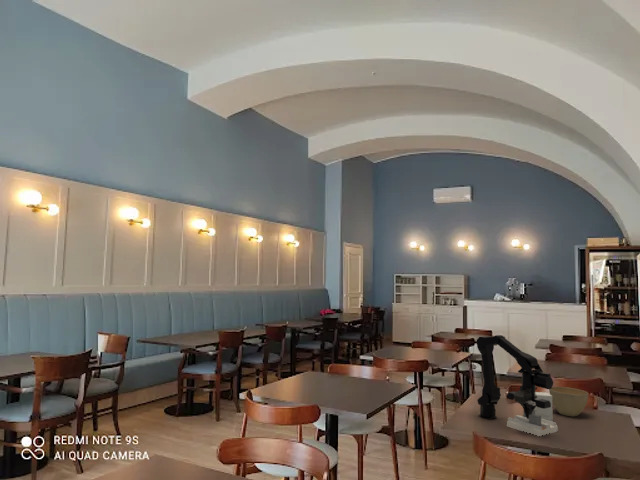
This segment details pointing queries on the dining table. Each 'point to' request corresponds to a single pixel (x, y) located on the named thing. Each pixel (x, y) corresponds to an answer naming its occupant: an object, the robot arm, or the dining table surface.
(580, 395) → the olive green bowl
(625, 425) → the dining table surface
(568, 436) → the dining table surface
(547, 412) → the supplement box
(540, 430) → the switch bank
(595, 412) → the dining table surface
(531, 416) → the switch tab
